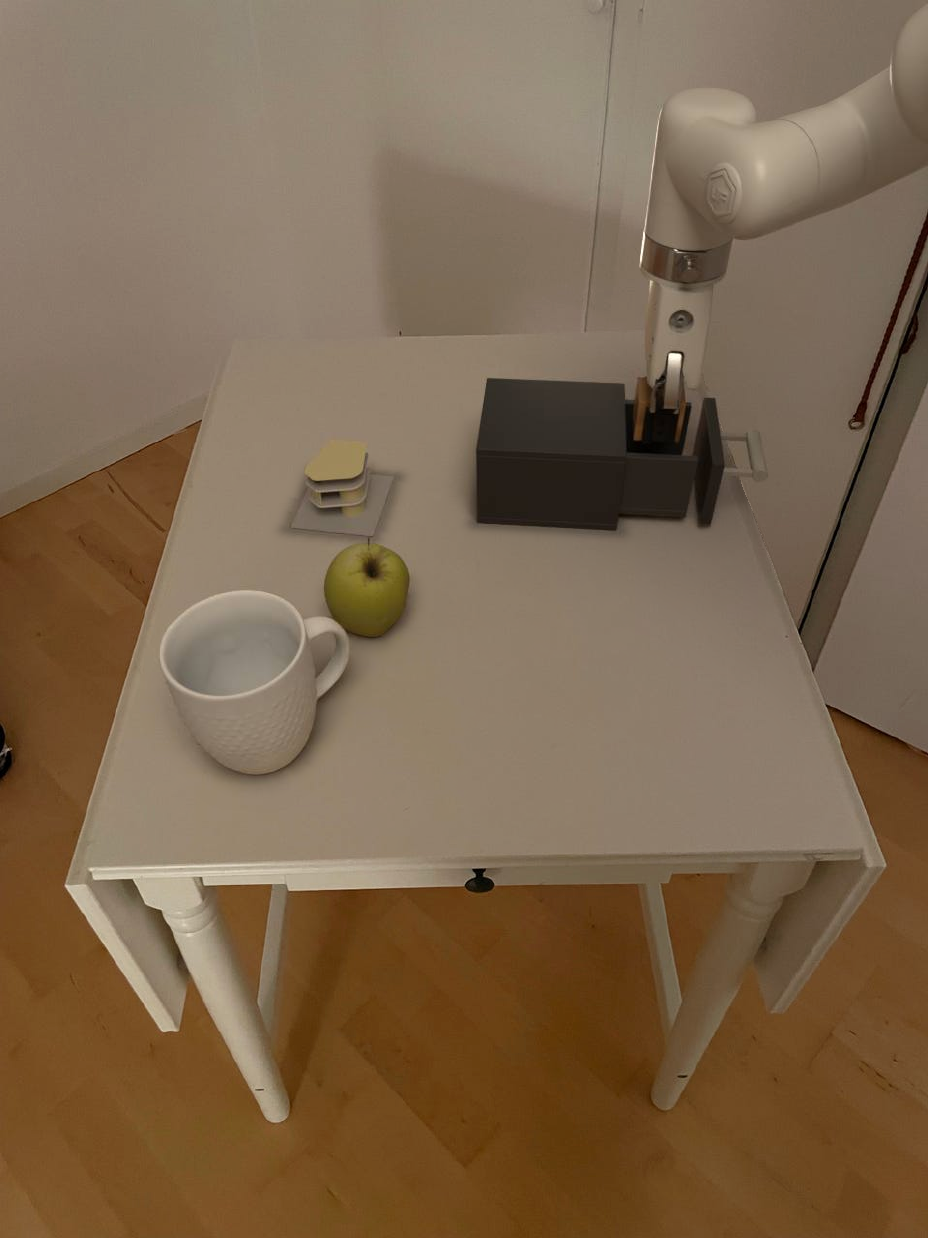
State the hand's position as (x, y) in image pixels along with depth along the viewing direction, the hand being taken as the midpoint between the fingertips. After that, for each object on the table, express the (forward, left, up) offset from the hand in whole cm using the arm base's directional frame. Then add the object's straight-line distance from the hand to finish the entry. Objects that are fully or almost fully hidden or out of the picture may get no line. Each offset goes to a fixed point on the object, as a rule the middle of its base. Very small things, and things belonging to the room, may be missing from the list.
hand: (656, 425), depth 93 cm
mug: (+32, +35, -9) cm, 49 cm away
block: (0, 0, 0) cm, 0 cm away
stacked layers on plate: (+32, +4, -9) cm, 34 cm away
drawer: (-2, 0, -8) cm, 8 cm away
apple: (+26, +21, -9) cm, 35 cm away
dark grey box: (+10, 0, -9) cm, 14 cm away
